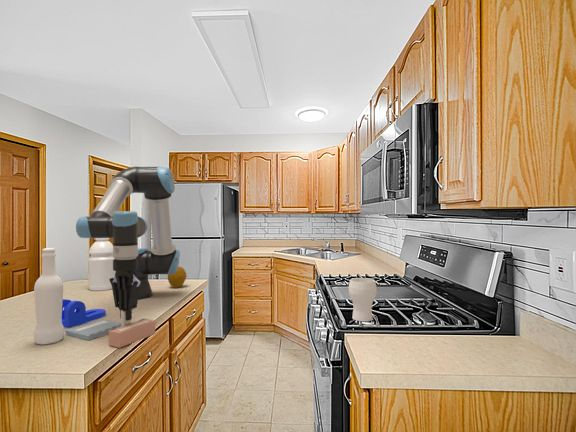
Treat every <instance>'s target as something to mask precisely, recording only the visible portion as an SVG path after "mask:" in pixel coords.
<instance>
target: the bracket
mask: <svg viewBox="0 0 576 432" xmlns="http://www.w3.org/2000/svg"><path fill="white" fill-rule="evenodd" d="M106 311H107V310H106V309H105V308H93V309H88V310H87V307H86V305H85V303H84V302H83V301H81V300H70V299H67V298H66V299H65V298H63V302H62V325H63V327H64V329H72V328H75V327H78V326H81V325H84V324H88V323H91V322H92V321H95V320H98V319H99V320H100V319H102V318H104V317H106V314H107V313H106Z"/></svg>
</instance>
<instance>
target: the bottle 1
mask: <svg viewBox="0 0 576 432" xmlns="http://www.w3.org/2000/svg"><path fill="white" fill-rule="evenodd" d="M41 250H42V251H41V252H42V253H41V255H40V256H41V275H40V276H39V277H38V279H36V281H35V283H34V287H33V293H34V295H33V296H34V305H35V307H34V308H35V319H36V325H35V329H34V332H33V335H34V336H33V339H34V343H36V344H37V345H42V346H43V345H51V344H55V343H58V342H60V341H61V340H63V338H64V336H65V328H64V327H63V325H62V302H63V299H64V298H63V297H64V282H63V280H62V279H61V278H60V276H58V274H57V273H56V271H57V270H56V252H55V251H56V250H55V248H54V247H46V248H45V247H44V248H42V249H41Z"/></svg>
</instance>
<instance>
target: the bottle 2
mask: <svg viewBox="0 0 576 432" xmlns="http://www.w3.org/2000/svg"><path fill="white" fill-rule="evenodd" d="M94 239H95V242H93V243H92V245H91V246H90V248H89V250H88V254H89V255H90V256H89V258H88V259H87V264H88V265H87V268H88V269H87V270H88V272H87V274H88V275H87V276H88V278H87V280H88V283H87V287H88V290H89V291H95V292H97V291H100V292H101V291H108V290H112V285H111V283H110V278H113V277H115V273H116V271H114V270H113V260H114V259H115V258H114V257H113V242H111V241H109V240H110V238H94Z"/></svg>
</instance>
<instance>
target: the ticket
mask: <svg viewBox="0 0 576 432" xmlns="http://www.w3.org/2000/svg"><path fill="white" fill-rule="evenodd" d="M118 327H121V322H118V321H112V320H108V319H99V320H97V321H94V322H88V323H85V324H82V325H78V326H75V327H71V328H68V329H66V330H65V335H66V336H68V337H71V338H72V337H73V338H77V339H80V340H84V341H91V340H95V339H98V338H100V337H103V336H107V335H109V330H112V329H115V328H118Z"/></svg>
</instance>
